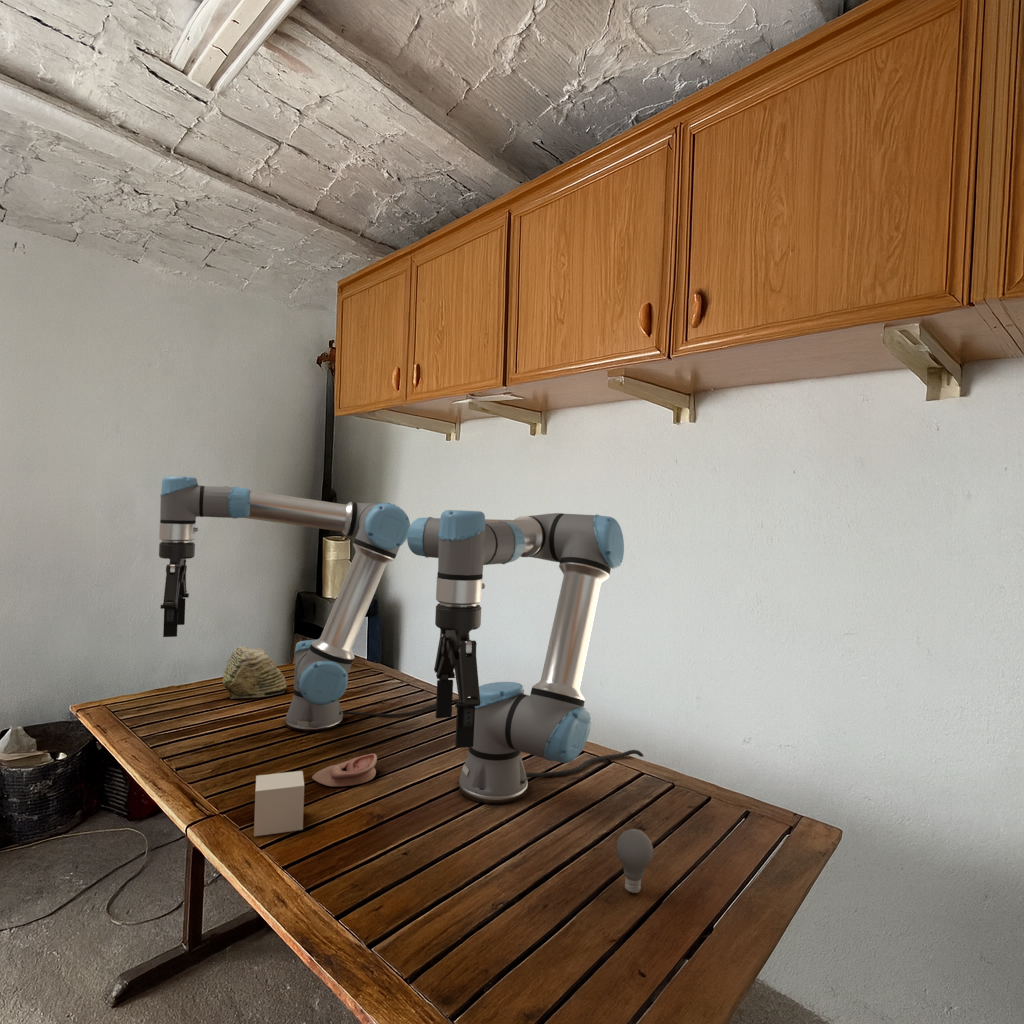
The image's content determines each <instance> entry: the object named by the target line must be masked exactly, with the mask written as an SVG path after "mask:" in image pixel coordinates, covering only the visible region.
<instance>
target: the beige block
mask: <svg viewBox="0 0 1024 1024" xmlns="http://www.w3.org/2000/svg"><path fill="white" fill-rule="evenodd" d="M254 790H255V791H254V792H255V793H254V817H253V818H254V821H253V823H254V824H253V837H262V836H269V835H273V834H283V833H291V832H296V831H297V832H298V831H303V830H304V809H305V807H304V806H305V779H304V771H303V770H296V771H287V772H286V771H285V772H278V773H269V774H259V775H255V789H254Z"/></svg>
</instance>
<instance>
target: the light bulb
mask: <svg viewBox="0 0 1024 1024" xmlns="http://www.w3.org/2000/svg"><path fill="white" fill-rule="evenodd" d="M615 849H616V854H617V857H618V859H619V861H620V863H621V865H622V867H623V873H624V874H623V875H624V876H625V878H624V888H625V890H627V891H628V892H630V893H634V894H635V893H639V892H640V891H641V889H642V887H641V886H642V879H643V877H644V875H645V871H646V868H647V867H648V866H649V864H650V863H651V861H652V859H653V855H654V847H653V843H652V841H651V838H649V836H648V835H647V834H646V833H645V832H643V831H642V830H641V829H636V828H629V829H627V830H625V831H623V832H622V833H621V834H620V835H619V837H618V839H617V841H616V847H615Z"/></svg>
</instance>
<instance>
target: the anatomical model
mask: <svg viewBox="0 0 1024 1024" xmlns="http://www.w3.org/2000/svg"><path fill="white" fill-rule="evenodd" d="M377 761H378V756H377V754H376V753H368V754H363V755H360V756H357V757H354V758H351V759H348V760H346V761H343V762H340V763H337V764H332V765H329V766H326V767H324V768H322V769H320V770H318V771H317V772H315V773H314V774H313V775H312V776H311V779H312V780H313V781H315V782H317V783H318V784H321V785H323V786H327V787H333V788H334V787H347V786H356V785H361V784H364V783H367V782H369V781H372V780H373V779H374V778H375V776H376V773H377V770H376V768H375V767H376V764H377Z"/></svg>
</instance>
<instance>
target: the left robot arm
mask: <svg viewBox="0 0 1024 1024" xmlns="http://www.w3.org/2000/svg"><path fill="white" fill-rule="evenodd" d="M159 506H160V507H159V509H160V510H159V512H160V514H159V531H158V533H159V534H158V538H159V540H160V543H158V557H159V558H160V559H163V560H164V559H165V560H169V564H166V566H165V573H166V574H165V583H164V593H163V603H162V604H160V609H163V630H162V631H163V632H162V638H176V637H178V626H184V625H185V624H186V623H185V622H186V598H189V597H190V593H188V590H187V570H188V565H187V559H188V560H190V559H194V557H195V555H196V544H195V542H193V541H194V540H196V533H197V532H199V527H196V522H197V521H196V520H197V518H205V517H206V518H219V519H220V518H222V519H224V518H225V519H227V518H228V519H248V520H249V519H250V520H255V521H256V520H257V521H264V522H271V523H278V524H285V525H293V526H300V527H308V528H314V529H322V530H327V531H328V530H329V531H334V532H335V531H336V532H341V533H342V534H343V535H344V536H346V537H352V538H354V541H353V543H352V546H353V548H354V550H355V553H354V556H353V558H352V561H351V563H350V565H349V568H348V570H347V572H346V575H345V577H344V580H343V582H342V585H341V587H340V590H339V592H338V594H337V597H336V599H335V601H334V603H333V606H332V608H331V610H330V614H329V615H328V618H327V620H326V623H325V625H324V628H323V630H322V632H321V635H320V636H319V638H317V639H307V640H301V641H298V642H297V643H295V648H294V649H295V650H294V672H293V673H294V674H293V675H294V679H293V695H292V696H293V697H292V699H291V702H290V704H289V708H288V711H287V713H286V715H285V726H286V728H287V729H289V730H291V731H294V732H295V731H296V732H301V733H316V732H325V731H329V730H332V729H335V728H337V727H339V726H340V725H342V723H343V722H344V715H354V716H367V717H368V716H369V717H370V716H371V717H402V716H408V715H412V714H413V715H414V714H417V713H420V712H424V711H428V710H430V709H432V708H434V707H435V708H436V703H434V704H431V705H427V706H426V707H423V708H419V709H416V710H412V711H407V712H399V713H376V712H375V713H374V712H360V711H343V709H342V706H341V702H340V698H342V696H343V695H344V694H345V692H346V690H347V688H348V683H349V676H348V674H349V673H350V670H351V668H352V664H353V663H354V660H355V655H354V652H353V647H354V645H355V642H356V639H357V637H358V634H359V632H360V629H361V627H362V625H363V623H364V621H365V617H366V615H367V613H368V610H369V608H370V606H371V602H372V600H373V598H374V595H375V594H376V591H377V589H378V586H379V583H380V581H381V578H382V576H383V574H384V571H385V569H386V566H387V564H389V563H391V562H393V561H395V560H396V557H397V555H398V552H399V550H400V548H401V546H403V545H404V544H405V542H407V536H408V534H407V533H408V529H409V527H410V525H411V521H410V519H409V516H408V514H407V513H406V512H405V510H403V509H402V508H401V507H400V506H398V505H397V504H393V503H390V502H355V501H349V502H348V503H346V504H344V503H338V502H330V501H325V500H317V499H311V498H303V497H297V496H292V495H291V496H290V495H284V494H277V493H271V492H266V491H265V492H264V491H257V490H251V489H250V488H248V487H240V486H225V485H224V486H212V485H211V486H210V485H208V486H207V485H199V483H198V479H197V478H196V477H193V476H178V475H177V476H176V475H166V476H165V477H163V478H162V481H161V491H160V505H159ZM456 702H459V698H456V699H452V703H456Z"/></svg>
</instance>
